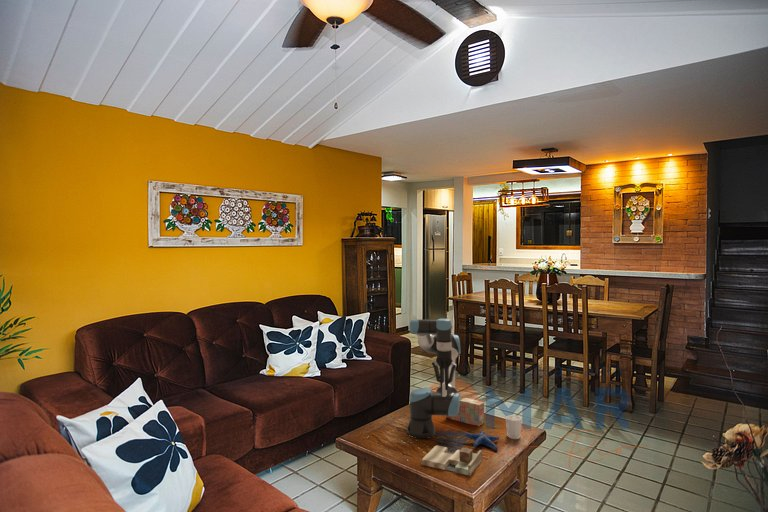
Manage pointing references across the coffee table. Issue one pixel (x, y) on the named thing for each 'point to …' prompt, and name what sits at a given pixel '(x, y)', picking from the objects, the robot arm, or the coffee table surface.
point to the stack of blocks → (470, 412)
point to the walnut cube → (466, 455)
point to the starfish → (483, 439)
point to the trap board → (451, 460)
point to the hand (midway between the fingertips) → (444, 395)
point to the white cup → (513, 426)
